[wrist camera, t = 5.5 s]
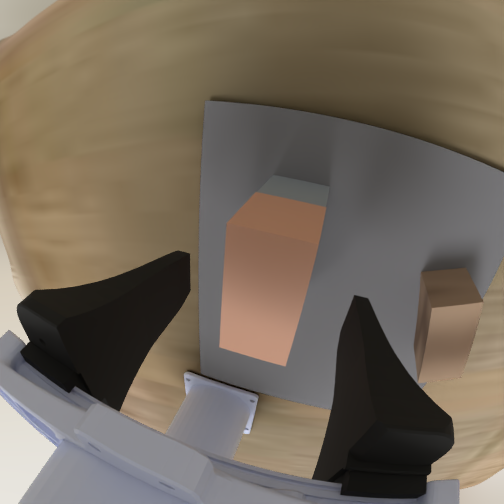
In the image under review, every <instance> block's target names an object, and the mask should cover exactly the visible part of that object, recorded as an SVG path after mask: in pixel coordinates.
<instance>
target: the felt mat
mask: <svg viewBox="0 0 504 504" xmlns="http://www.w3.org/2000/svg"><path fill="white" fill-rule="evenodd" d="M273 175H277V176H282V177H287V178H292V179H297V180H302V181H306V182H311V183H316V184H320V185H325V186H329V187H330V188H329V194H328V199H327V204H326V212H325V217H324V222H323V227H322V232H321V237H320V241H319V246H318V250H317V254H316V258H315V262H314V266H313V270H312V274H311V278H310V282H309V286H308V289H307V293H306V297H305V301H304V304H303V308H302V312H301V315H300V319H299V322H298V326H297V329H296V333H295V336H294V340H293V343H292V346H291V350H290V353H289V356H288V360H287V363H286V366H282V365H278V364H274V363H271V362H267V361H263V360H260V359H256V358H253V357H250V356H246V355H243V354H240V353H236V352H233V351H230V350H227V349H224V348H220V347H219V344H220V324H221V305H222V287H223V271H224V255H225V240H226V226H227V222H228V221H229V220H230V219H231V218H232V217H233V216H234V215H235V214H236V212H237V211H238V210H239V209H240V208H241V207H242V206H243V205H244V204H245V203H246V202H247V201H248V200H249V199H250V198H251V196H252V195H253V194H254V193H255V192H257V191H258V190H259V189H260V188H261V187H262V186H263V185H264V184H265V183H266V182H267V181H268V180H269V179H270V178H271V177H272V176H273ZM503 257H504V172H502V171H500V170H498V169H496V168H494V167H491V166H489V165H487V164H484V163H482V162H480V161H477V160H475V159H472V158H470V157H468V156H465V155H462V154H460V153H457V152H455V151H452V150H449V149H446V148H444V147H441V146H438V145H435V144H432V143H429V142H426V141H423V140H420V139H417V138H414V137H411V136H407V135H404V134H401V133H397V132H394V131H390V130H387V129H383V128H379V127H375V126H371V125H367V124H363V123H359V122H355V121H350V120H346V119H341V118H337V117H332V116H327V115H322V114H316V113H311V112H305V111H299V110H293V109H286V108H279V107H272V106H264V105H255V104H246V103H235V102H223V101H205V110H204V124H203V140H202V158H201V180H200V210H199V337H200V366H201V374H203V375H206V376H209V377H212V378H214V379H217V380H220V381H223V382H227V383H230V384H233V385H236V386H239V387H242V388H246V389H249V390H252V391H256V392H259V393H263V394H267V395H270V396H274V397H278V398H281V399H285V400H289V401H293V402H298V403H302V404H306V405H310V406H315V407H320V408H324V409H329V410H331V408H332V404H333V396H334V386H335V372H336V357H337V348H338V342H339V336H340V331H341V328H342V326H343V323H344V320H345V318H346V315H347V313H348V310H349V308H350V305H351V302H352V300H353V297H354V295H357V296H361V297H366V298H368V299H369V301H370V303H371V305H372V307H373V310H374V312H375V314H376V316H377V319H378V321H379V323H380V325H381V327H382V329H383V331H384V333H385V335H386V337H387V339H388V341H389V343H390V345H391V347H392V348H393V350H394V352H395V354H396V355H397V357H398V358H399V360H400V361H401V363H402V364H403V366H404V367H405V369H406V370H407V371H408V373H409V374H410V375H411V377H412V378H413V379H414V380H415V382H416V383H417V384H418V385H419V386H420V388H421V389H422V388H423V387H424V386H425V384H426V383H427V382H425V383H418V380H417V370H416V361H415V353H414V346H413V345H414V338H415V331H416V323H417V314H418V304H419V292H420V278H421V272H424V271H435V270H446V269H457V268H466V269H467V271H468V272H469V274H470V276H471V278H472V280H473V282H474V284H475V286H476V288H477V290H478V292H479V294H480V296H481V298H482V299H483V297H484V295H485V293H486V291H487V289H488V288H489V286H490V284H491V282H492V280H493V278H494V276H495V274H496V272H497V270H498V267H499V265H500V263H501V261H502V259H503Z"/></svg>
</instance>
